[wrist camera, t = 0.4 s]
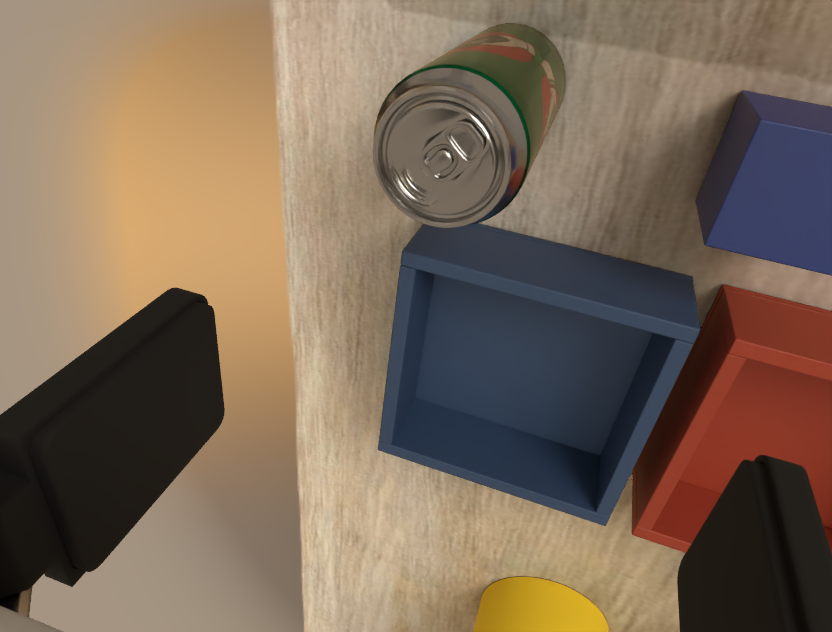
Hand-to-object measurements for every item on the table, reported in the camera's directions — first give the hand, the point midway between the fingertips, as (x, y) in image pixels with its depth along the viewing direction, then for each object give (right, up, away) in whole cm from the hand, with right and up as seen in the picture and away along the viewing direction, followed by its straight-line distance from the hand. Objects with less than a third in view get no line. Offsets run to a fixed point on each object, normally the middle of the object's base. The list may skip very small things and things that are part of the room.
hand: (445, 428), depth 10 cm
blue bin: (+6, 0, +24) cm, 25 cm away
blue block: (+15, +9, +15) cm, 23 cm away
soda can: (+4, +13, +17) cm, 22 cm away
